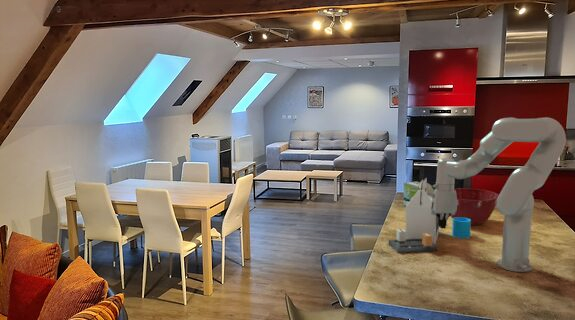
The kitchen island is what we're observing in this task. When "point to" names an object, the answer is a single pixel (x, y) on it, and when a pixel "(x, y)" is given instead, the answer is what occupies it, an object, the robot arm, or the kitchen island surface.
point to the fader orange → (427, 239)
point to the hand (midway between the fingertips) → (442, 227)
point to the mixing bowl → (475, 204)
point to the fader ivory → (400, 235)
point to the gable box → (421, 214)
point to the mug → (461, 227)
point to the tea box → (410, 191)
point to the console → (411, 246)
